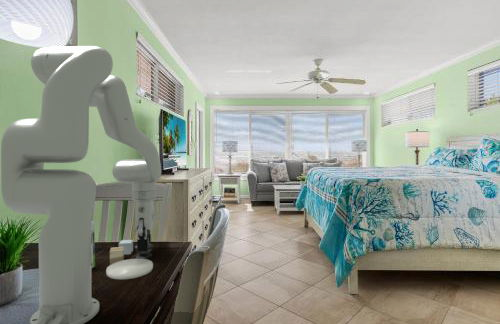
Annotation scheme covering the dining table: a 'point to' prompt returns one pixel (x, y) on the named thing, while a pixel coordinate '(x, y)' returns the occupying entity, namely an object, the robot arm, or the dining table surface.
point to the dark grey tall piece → (145, 253)
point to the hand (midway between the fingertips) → (144, 247)
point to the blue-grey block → (127, 246)
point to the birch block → (116, 254)
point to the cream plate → (129, 269)
